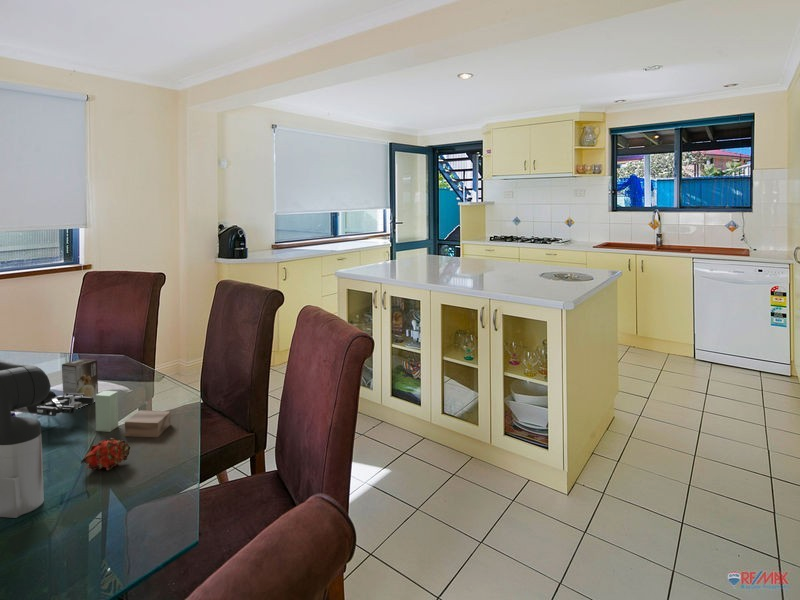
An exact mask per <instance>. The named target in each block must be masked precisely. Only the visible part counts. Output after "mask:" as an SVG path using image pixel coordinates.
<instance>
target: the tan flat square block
mask: <svg viewBox="0 0 800 600" xmlns="http://www.w3.org/2000/svg"><path fill="white" fill-rule="evenodd" d="M170 426H171V411H169V410H167V411H166V410H146V409H145V410H144V409H143V410H142V409H141V410H138V411H137V412H135V413H134V414H133V415H132V416H130V417H129V418H128V419H127V420H126V421H124V437H135V438H136V437H139V438H142V437H143V438H158V437H160V436H161V435H162V434H163V432H164V431H166V430H167V428H169V427H170Z"/></svg>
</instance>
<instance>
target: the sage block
mask: <svg viewBox="0 0 800 600" xmlns="http://www.w3.org/2000/svg"><path fill="white" fill-rule="evenodd" d="M94 404H95V431H96V432H108V433H111V432H112V431H113V430H115V429H117V428H118V427H119V391H117V390H103V391H101V392H98V394H96V395H95V403H94Z"/></svg>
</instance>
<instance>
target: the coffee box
mask: <svg viewBox="0 0 800 600" xmlns="http://www.w3.org/2000/svg"><path fill="white" fill-rule="evenodd" d="M61 374H62V376H61V379H62V395H63V396H66V393H83V394H85V397H93V398H94V400H95V395H96V394H98V393H99V383H98V382H99V381H98V360H97V359H91V358H84V357H82V358H80V359H75V360H71V361H68V362H66V363H62V364H61ZM78 399H79V398H78ZM75 402H77V401H75ZM71 403H72V401H69V404H71ZM84 405H86V404H75V405H74V406H75V407H76V408H79V407H81V406H84Z"/></svg>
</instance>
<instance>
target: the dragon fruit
mask: <svg viewBox="0 0 800 600" xmlns="http://www.w3.org/2000/svg"><path fill="white" fill-rule="evenodd" d="M130 449H131V447H130V444H128V443H127V442H126V441H125V440H123V439H122V440H120V439H118V440H117V439H116V438H113V437H110V438H109V440H108V439H105V440H104V439H103V440H100V441H98V443H97V444H94V445H91V447H90V449H89V451H88V452H87V454H86V455H85V456H84V457H83V458H82V460H80V464H81V465H83V463H85V464H87V465H86V469H87V470H92V471H93V470H101V469H103V468H105V469H106V471H110V470H111V469H113V468H114V467H118V466H119V464H121V463H122V461H123V462H125V461H127V460H128V456H129V455H130Z"/></svg>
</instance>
